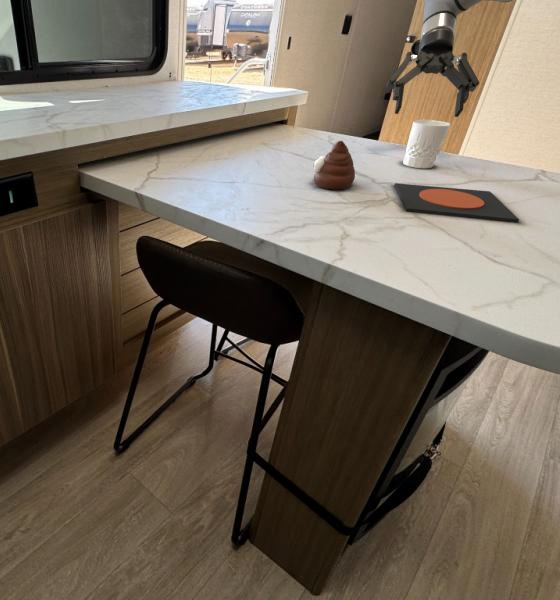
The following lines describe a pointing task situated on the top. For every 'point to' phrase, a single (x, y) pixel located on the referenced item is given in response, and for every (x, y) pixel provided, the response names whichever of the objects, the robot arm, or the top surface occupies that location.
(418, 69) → the robot arm
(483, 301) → the top surface
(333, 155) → the poop emoji
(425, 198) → the placemat
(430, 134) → the white cup
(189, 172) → the top surface
